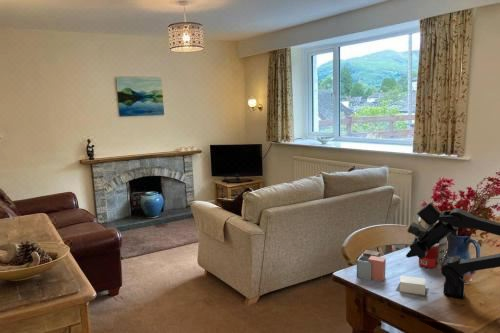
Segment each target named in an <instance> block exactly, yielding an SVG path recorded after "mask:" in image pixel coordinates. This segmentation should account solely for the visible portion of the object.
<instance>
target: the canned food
mask: <svg viewBox="0 0 500 333" xmlns="http://www.w3.org/2000/svg"><path fill="white" fill-rule="evenodd" d="M438 258H439V243H438V244H435V245H434V246H433V247H432V248H431V249H430V250H428V249H427V255H426V256H425V257H424V258H423V259H420V258H419V257H418V265H419V266H420V267H421V268H422V269H423V268H424V269H428V270H434V269H437V268H438V266H439V259H438Z"/></svg>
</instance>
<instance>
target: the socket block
mask: <svg viewBox="0 0 500 333" xmlns="http://www.w3.org/2000/svg"><path fill="white" fill-rule="evenodd" d="M364 252H365V250H364V251H363V253H364ZM363 253H361V255H359V257H358V258H357V260H356V279H360V280H361V279H365V280H370V281H371V280H372V279H371V265H372V262H368V259H369V258H370V257H367V256H363Z"/></svg>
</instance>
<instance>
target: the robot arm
mask: <svg viewBox="0 0 500 333" xmlns="http://www.w3.org/2000/svg"><path fill="white" fill-rule="evenodd" d="M416 215H417V216H418V217H419V218H420V219H421V220H422V221H423V222H424V224H425V223H426V224H427V225H428V224H429V225H433V224H434V223H435V222H437V221H439V222H438V223H436V224H435V225H434V226H433V227H431V228H428V229H425V226H422V225H420V224H418V223H416V222H411V223H410V225H409V226H408V229H407V230H406V231H407V233H408V234H412V235H414V236H415V237H417V238H415V239H414V240H413V241H412V243H411V244H410V245H409V249H410V250H409V251H408V252H407V253H406V255H405V257H406V258H407V259H409V258H413V257H418V259H419V258H420V259H423V258H424V257H425V256H426V255H427V249H428V250H430V249H431V248H432V247H433V246H434V245H435V244H438V243H439V242H440V241H441V240H442V239H443V238H445V237H446V236H447V235H448V236H449V235H450V234H452V235H453V236H454V237H457V236H458V229H472V230H473V229H474V230H477V231H482V232H485V233H488V234H489V233H490V234H492V235H496V236H499V237H500V222H497V221H494V220H490V219H486V218H482V217H479V216H476V215H474V214H473V213H471V212H469V211H468V210H465V209H463V208H457V207H456V208H453V209H452V210H442V211H440V210H439V209H438V208H436V206H435V205H434V204H433V203H432V202H429V203H428V204H426V205H424V206H423V207H421V209H420V210H419V211H418V212H416ZM495 268H500V253H495V254H489V255H485V256H479V257H473V258H467V259H464V258H461V256H460V254H459V255H455V256H447V258H445V259H444V261H443V263H442V265H441V267H440V272H441V275H442V276H443V277H444V278H445V280H444V281H443V295H444V297H448V298H453V299H458V300H461V301H463V300H464V299H465V295H466V292H465V288H466V287H465V286H466V280H465V277H466V274H468V273H470V272H475V271H482V270H483V271H484V270H490V269H495Z"/></svg>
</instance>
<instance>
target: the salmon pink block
mask: <svg viewBox="0 0 500 333" xmlns="http://www.w3.org/2000/svg"><path fill="white" fill-rule="evenodd" d="M386 259H387V258H386V257H381V256H380V257H376V256H371V257H370V258H369V259H368V262H372V265H371V280H375V281H380V282H383V281H384V280H385V279H386V261H387V260H386Z"/></svg>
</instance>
